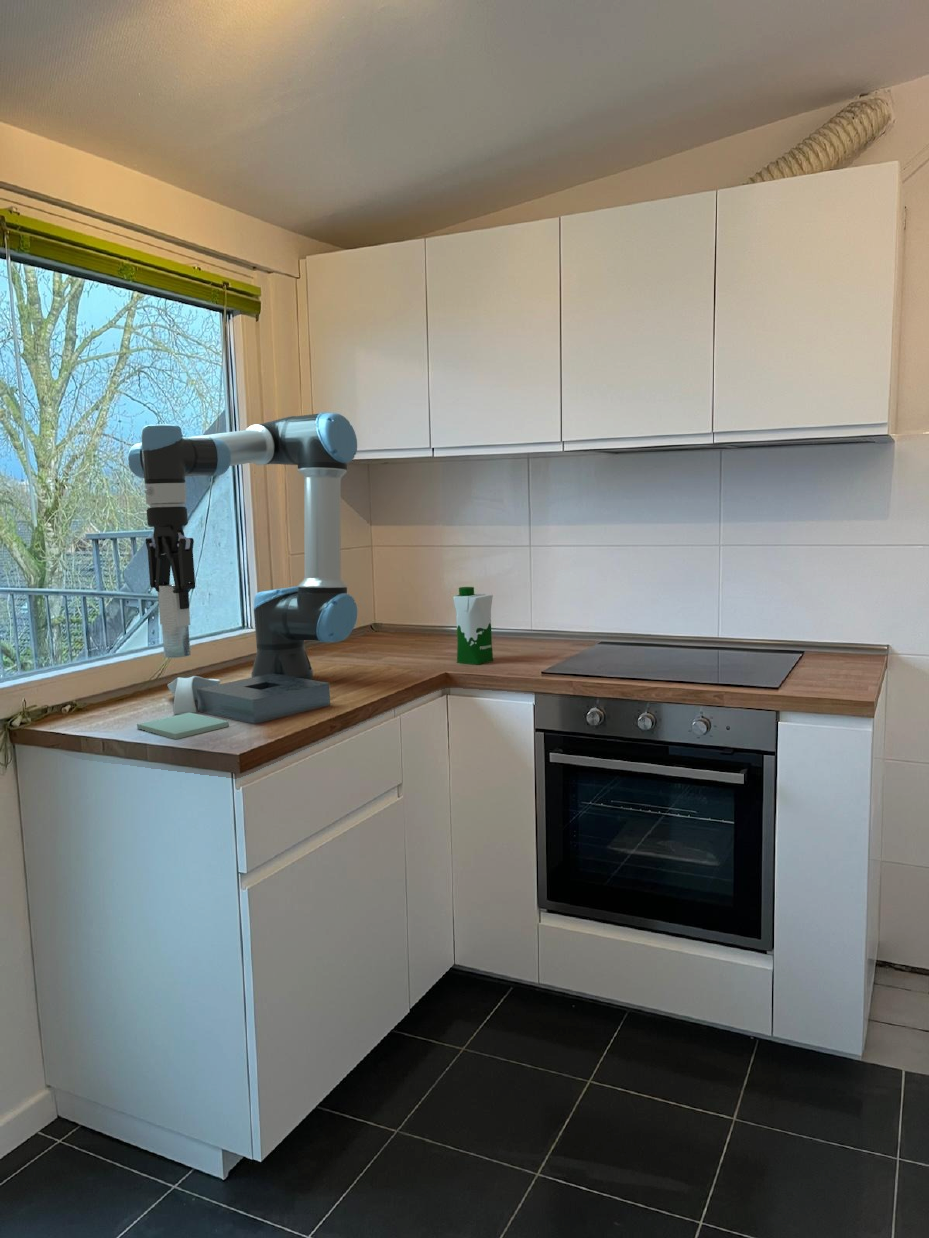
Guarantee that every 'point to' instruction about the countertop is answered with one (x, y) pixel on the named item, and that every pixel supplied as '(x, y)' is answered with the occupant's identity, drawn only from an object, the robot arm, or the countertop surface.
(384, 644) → the countertop surface
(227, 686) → the housing
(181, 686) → the white curved piece
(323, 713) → the countertop surface
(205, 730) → the mat
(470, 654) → the milk carton
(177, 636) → the grey tall block
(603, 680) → the countertop surface
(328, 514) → the robot arm
